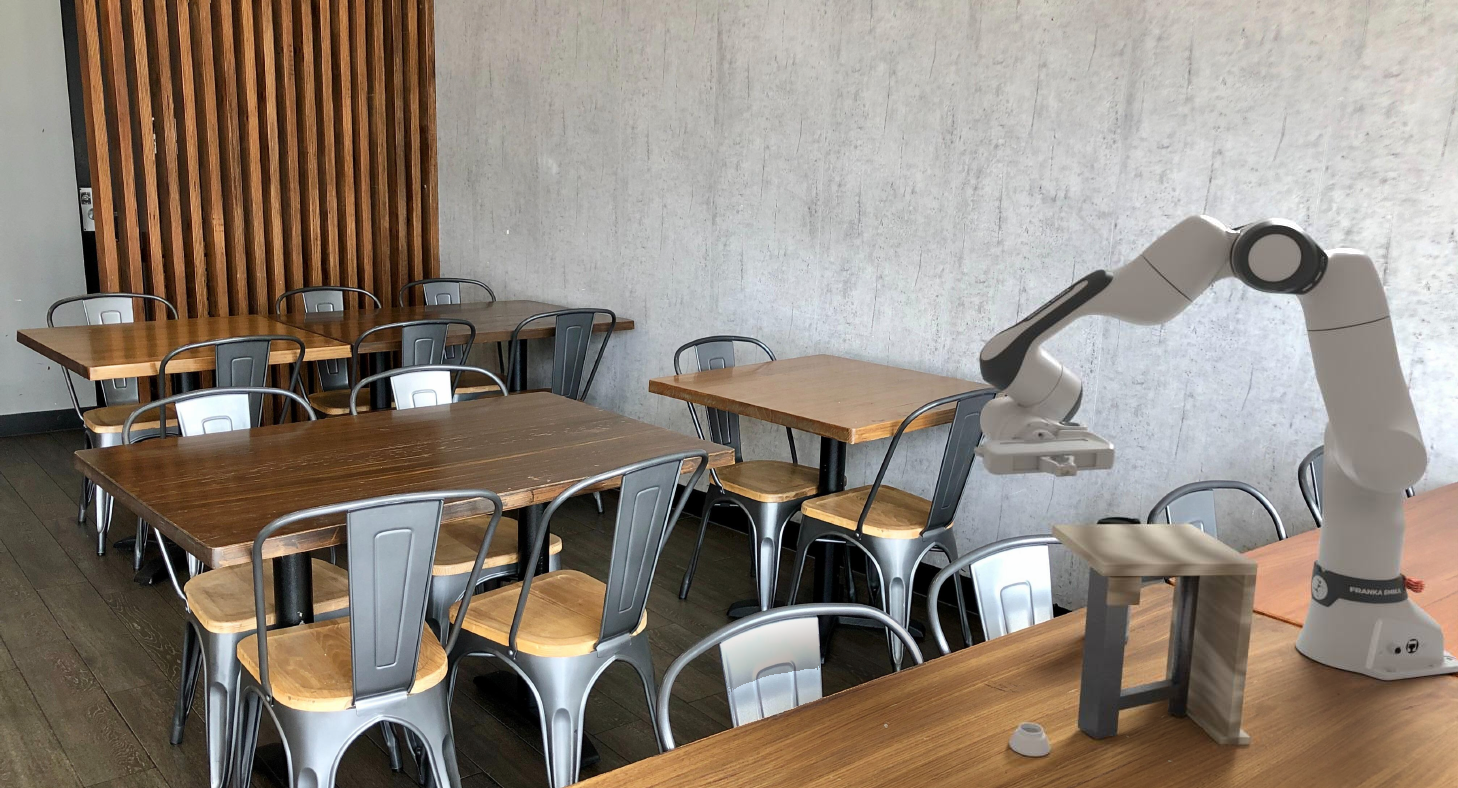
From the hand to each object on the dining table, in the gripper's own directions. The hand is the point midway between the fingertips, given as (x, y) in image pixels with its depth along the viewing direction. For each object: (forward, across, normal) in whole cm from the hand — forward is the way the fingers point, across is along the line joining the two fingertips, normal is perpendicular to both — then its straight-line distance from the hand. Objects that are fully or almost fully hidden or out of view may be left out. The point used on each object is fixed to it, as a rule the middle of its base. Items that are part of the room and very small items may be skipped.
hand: (1067, 471), depth 160 cm
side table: (+22, +2, +28) cm, 35 cm away
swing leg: (+24, +1, +27) cm, 37 cm away
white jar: (+30, -16, +27) cm, 43 cm away
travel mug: (-4, +11, +30) cm, 33 cm away
